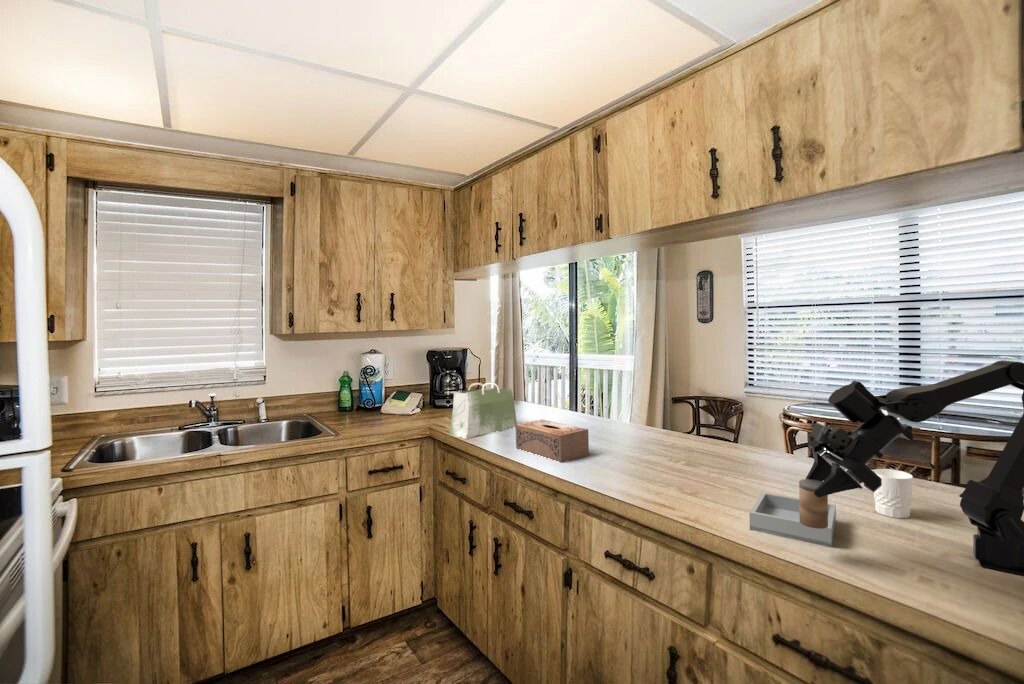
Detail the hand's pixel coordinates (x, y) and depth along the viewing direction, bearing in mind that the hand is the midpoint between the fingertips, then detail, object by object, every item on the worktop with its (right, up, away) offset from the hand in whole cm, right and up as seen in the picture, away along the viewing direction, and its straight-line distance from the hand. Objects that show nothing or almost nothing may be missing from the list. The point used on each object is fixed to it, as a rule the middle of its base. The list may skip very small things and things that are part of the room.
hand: (810, 490), depth 99 cm
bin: (+5, -13, +15) cm, 20 cm away
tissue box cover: (-47, -12, +85) cm, 98 cm away
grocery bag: (-75, -11, +125) cm, 146 cm away
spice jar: (+1, -7, 0) cm, 7 cm away
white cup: (+33, -12, +20) cm, 40 cm away
